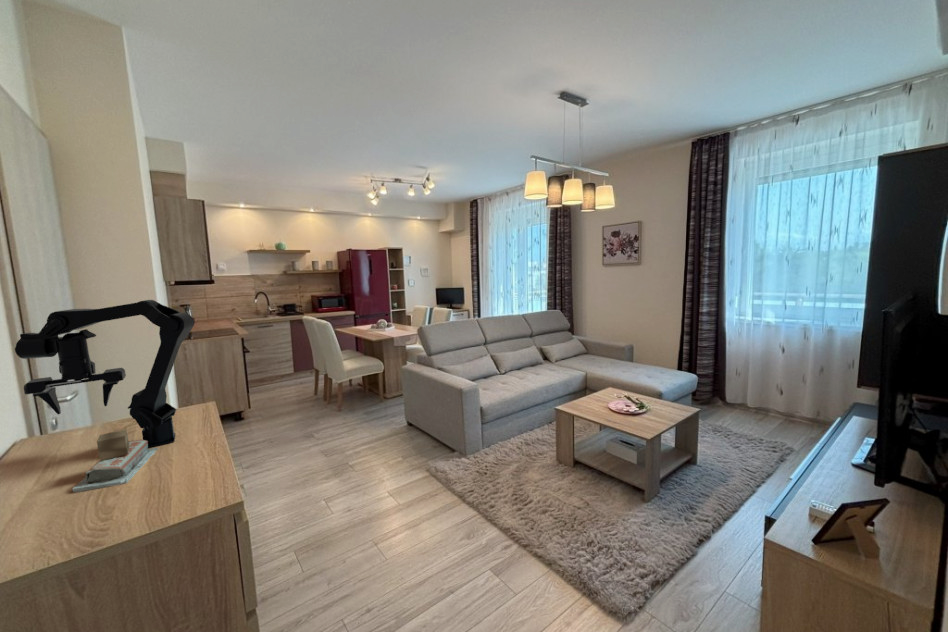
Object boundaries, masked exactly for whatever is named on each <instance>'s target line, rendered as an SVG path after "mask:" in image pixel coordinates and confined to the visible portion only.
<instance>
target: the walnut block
mask: <svg viewBox="0 0 948 632" xmlns="http://www.w3.org/2000/svg"><path fill="white" fill-rule="evenodd" d="M96 440H97V441H96V445H97V449H98V450H97V453H98V458H99V461H103V460H107V459H111V458H115V457H119V456H123V455H127V454H128V451H129V441H130V440H129V436H128V431H127V429H123V430H116V431H113V432H108V433H103V434H99V437H98V438H97V439H96Z"/></svg>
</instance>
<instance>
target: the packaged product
mask: <svg viewBox="0 0 948 632" xmlns="http://www.w3.org/2000/svg"><path fill="white" fill-rule="evenodd" d="M128 441H129V451H128V454H127V455H123V456H119V457H115V458H111V459H107V460H103V461H100V460H98V461H97V463H96V464H94V465H93V466H92V467H90V468H89V469H88V470H87V471H86V473H85V477H84V478H83V479H81V481H79V483H77V484H76V485H75V486H73V488H71V489H72V492H73V493H81V492H86V491H91V490H97V489H104V488H109V487H115V486H120V485H125V484H127V483H128V482H129V481H130V480H131V479H132V478H133V477H134V476H135V475H136V474H137V472H138V471H140V470H141V468H142V467H143V466H144V465H146V464H147V462H149V460H150V459H151V458H152V457H153V456H152V455H155V453H156V452H157V451H158V447H152V448H148V441H147V440H143V439H138V440H137V439H135V440H128ZM156 450H157V451H156ZM155 451H156V452H155ZM151 456H152V457H151ZM150 457H151V458H150ZM148 459H149V460H148Z"/></svg>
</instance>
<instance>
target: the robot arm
mask: <svg viewBox="0 0 948 632" xmlns="http://www.w3.org/2000/svg"><path fill="white" fill-rule="evenodd" d="M137 316H142V317H145V318H146V319H147V320H148V321H149V322H151V323H152V325H153V324H154V325H155V326H156V327H159V330H158V331H159V332H158V335H159V339H160V344H159V347H158V350H157V353H156V355H155V359H154V360H153V361H154V362H153V364H152V367H151V370H150V373H149V376H148V378H147V382H146V384H145V387H144V388H142V389H141V390H140V391H138V392H136V393H134V394H132V397H131V400H130V402H131V403H130V404H129V405H128V407H127V409H129V415H130V416H131V418H132V419H133V420H135V422H136V423H137V425H138V426H139V427H140V429H142V430H141V435H142V440H147V441H148V449H150V448H155V447H157V446H162V445H166V444H170V443H174V442H175V441H176V440H175V439H176V432H175V429H174V421H173V417H174V416H175V414H176V411H177V408H176V407H174V406H172V405H171V404H169V403H167V392H166V387H167V385H168V381H169V378H170V375H171V372H172V371H173V367H174V365H175V361H176V359H177V356H178V352H179V350H180V347H181V345H182V343H183V342H184V341H185V339H186V338H187V337H188V336H189V334H190V333H191V331H192V329H193V327H195V319H194V318H193V317H192V315H191V314H189V313H187V312H180V311H178V310H177V309H175V308H172V307H169V306H166V305H165V304H162V303H159V302H158V301H156V300H153V299H145V300H139V301H138V302H133V303H132V302H131V303H126V304H120V305H115V306H109V307H107V306H106V307H102V308H72V309H64V310H57V311H54V312H50V313H49V315H48V317H47V318H46V323H45V324H44V326H43V327H42V328H41V330H39V332H24V333H20V334H19V336H20V338H19V340H17V342H16V343H15V344H16V345H15V347H14V353H16V356H17V357H18V358H20V359H26V360H27V359H39V358H41V359H42V358H52V357H55V356H56V355H57V356H58V372H59V374H61V378H58V379H57V378H56V379H53V378H52V376H47V377H41V378H40V377H39V378H33V379H31V380H30V381H27V382H26V383H25V384H24V385H23V392H24V395H31V394H32V397H39V398H40V399H41V400H43V402H45V403H46V404H47V405H48V406H49V407H50V408H51V409H52V410H53V411H54V412H55V413H56V414H57V415H61V412H62V410H61V405H60V403H59V400H58V397H57V392H56V387H60V386H69V385H74V384H75V385H76V384H82V383H83V384H84V383H90V382H97V381H103V383H102V399H103V400H102V401H103V406H104V407H107V406H108V403H109V400H110V396H111V393H112V390H113V387H114V385H117V384H118V383H119V382H120V381H123V380H124V379H125V378H126V376H127V374H126V369H124V368H123V367H116V368H110V369H109V368H108V369H105V370H104V372H103V373H101V372H100V373H97V372H96V363H95V362H94V361H92V360H91V357H90V352H89V347H88V342H87V341H88V339H91V338H96V337H97V334H96V333H93V332H91V331H89V330H88V329H84V328H88V327H91V326H93V325H96V324H98V323H102V322H108V321H113V320H114V321H115V320H118V319H119V320H120V319H126V318H130V317H137ZM81 329H82V330H81ZM76 330H80V331H79V332H73V331H76ZM61 335H63V336H61Z"/></svg>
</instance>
